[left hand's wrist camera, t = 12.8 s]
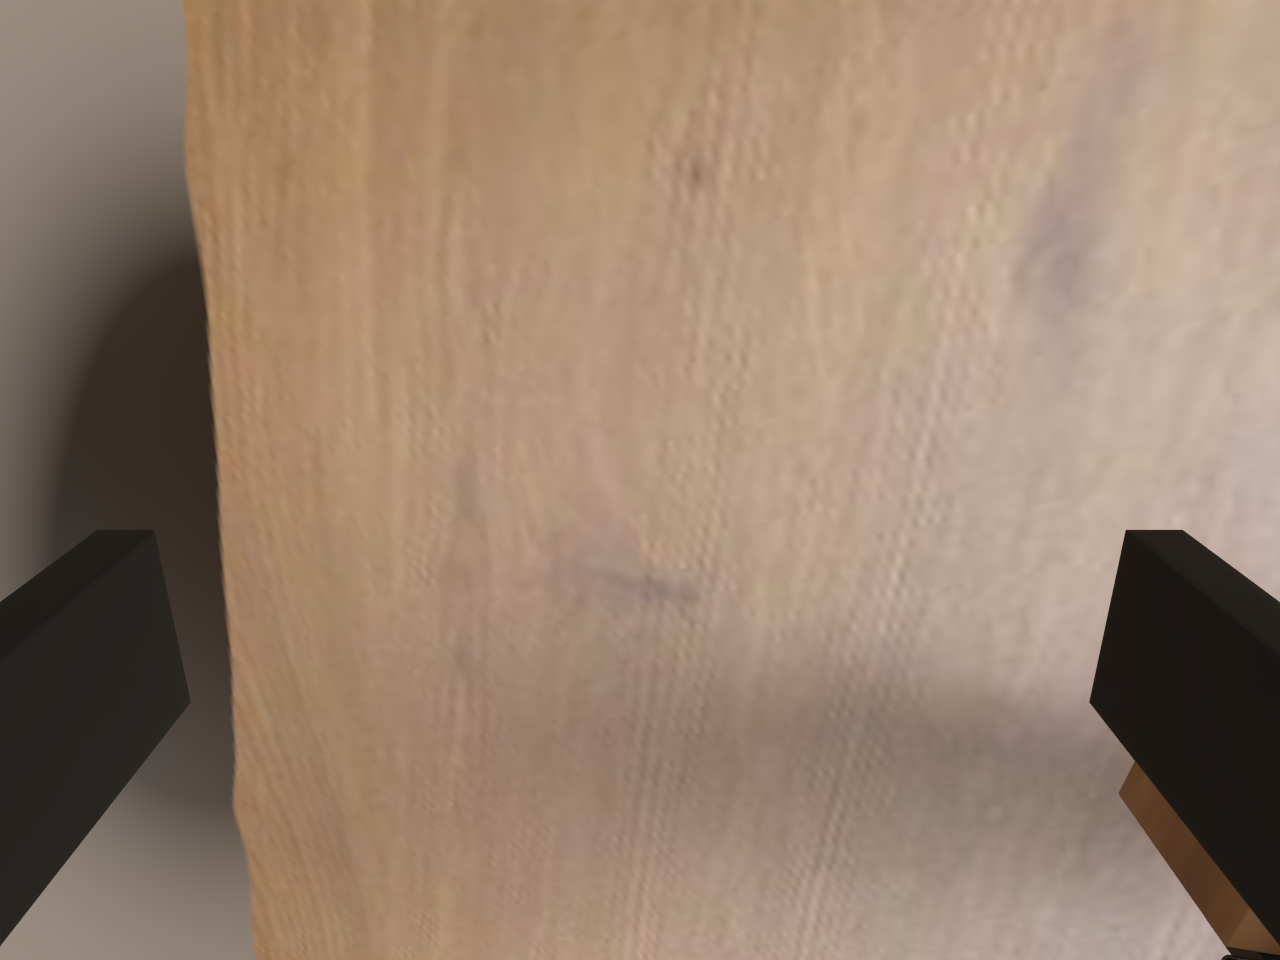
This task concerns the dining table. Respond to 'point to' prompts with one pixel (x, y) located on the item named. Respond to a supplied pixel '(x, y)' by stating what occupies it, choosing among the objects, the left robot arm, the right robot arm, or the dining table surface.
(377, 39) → the dining table surface
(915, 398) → the dining table surface
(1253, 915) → the bar
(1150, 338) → the dining table surface
